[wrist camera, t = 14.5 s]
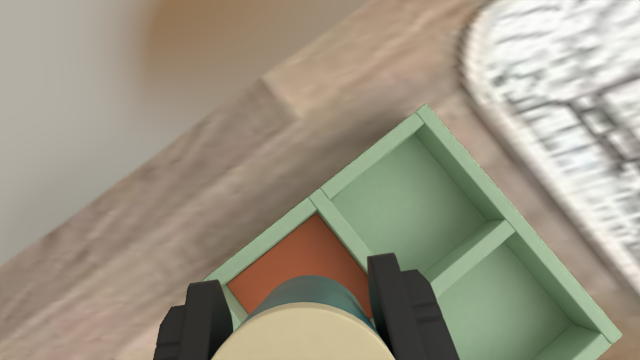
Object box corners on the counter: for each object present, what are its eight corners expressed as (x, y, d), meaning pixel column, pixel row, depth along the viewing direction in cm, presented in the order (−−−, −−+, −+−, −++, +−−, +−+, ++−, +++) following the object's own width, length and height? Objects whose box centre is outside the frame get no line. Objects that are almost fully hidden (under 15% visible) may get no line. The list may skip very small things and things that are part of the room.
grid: (379, 506, 24) (389, 546, 21) (208, 280, 26) (193, 287, 23) (585, 323, 26) (623, 335, 23) (413, 118, 27) (426, 102, 24)
